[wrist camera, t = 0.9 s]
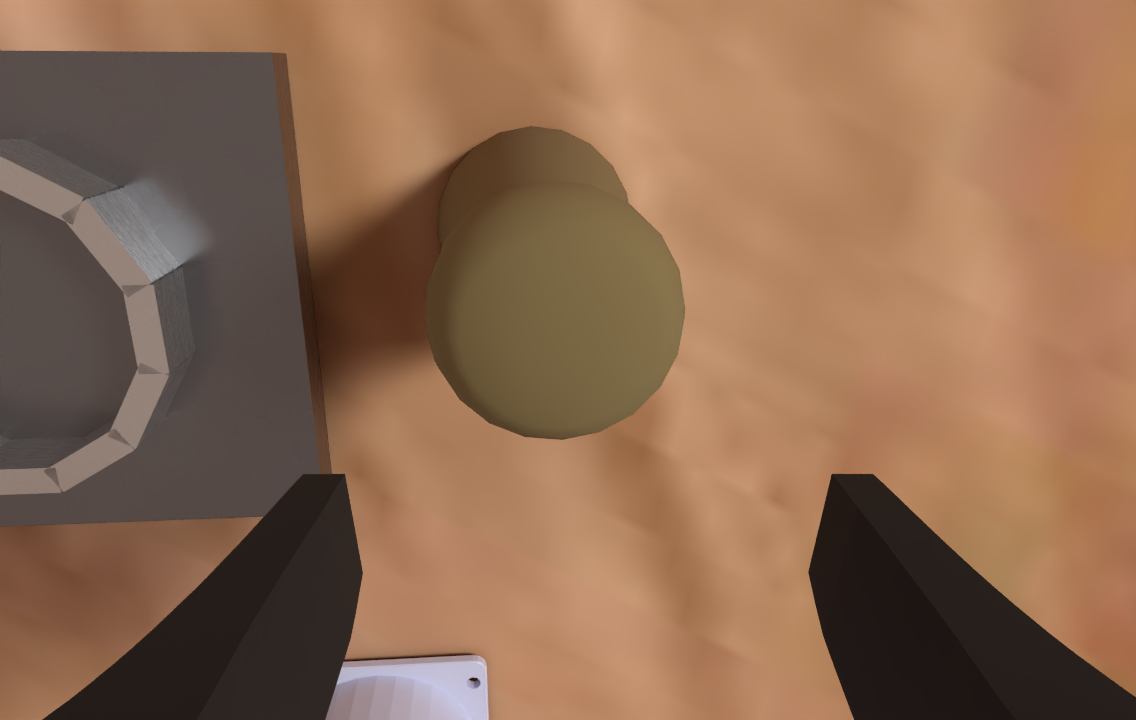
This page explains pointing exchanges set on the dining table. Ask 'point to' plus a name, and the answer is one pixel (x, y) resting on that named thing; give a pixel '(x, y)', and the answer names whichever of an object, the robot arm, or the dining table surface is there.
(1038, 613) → the dining table surface
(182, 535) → the dining table surface
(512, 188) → the cork
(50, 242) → the plate
